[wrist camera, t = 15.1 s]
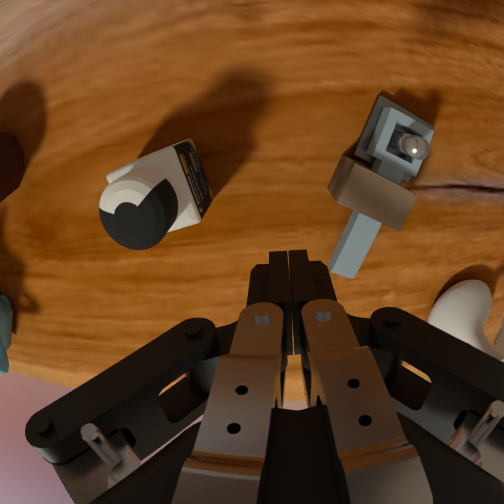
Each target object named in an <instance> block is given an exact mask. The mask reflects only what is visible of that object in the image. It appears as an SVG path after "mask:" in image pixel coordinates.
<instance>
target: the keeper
mask: <svg viewBox="0 0 504 504" xmlns="http://www.w3.org/2000/svg"><path fill="white" fill-rule="evenodd" d="M327 188H328V190H329V191H330V193H331V195H332V196H333V198H334V199H335V201H336V203H338V204H340V205H343V206H345V207H347V208H350V209H352V210H354V211H356V212H359V213H361V214H363V215H365V216H367V217H370V218H372V219H374V220H376V221H378V222H380V223H382V224H385V225H387V226H389V227H391V228H393V229H395V230H397V231H400V229H401V228H402V226H403V224H404V222H405V220H406V218H407V216H408V215H409V213H410V211H411V209H412V207H413V205H414V203H415V201H416V199H417V197H418V196H417V195H416V194H415V193H413V192H411V191H409V190H408V189H406V188H404V187H402V186H400V185H398V184H396V183H395V182H393V181H391V180H389V179H387V178H385V177H383V176H381V175H379V174H377V173H375V172H373V171H371V170H370V169H368V168H367V167H366V166H364V165H363V164H361V163H360V162H358V161H356V160H354V159H352V158H350V157H348V156H346V155H344V154H342V157H341V159H340V161H339V163H338V165H337V168H336V170H335V172H334V174H333V176H332V179H331V181H330V183H329V185H328V187H327Z"/></svg>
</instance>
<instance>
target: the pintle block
mask: <svg viewBox="0 0 504 504" xmlns="http://www.w3.org/2000/svg"><path fill="white" fill-rule="evenodd" d="M384 107H391V108H393V109H395V110H397V111H399V112H401V113H403V114H405V115H407V116H408V117H410V118H412V119H414V120H416V121H417V122H419V123H421V124H423V125H424V126H426V127H428V128H429V129H431V130H433V126H431V125H430V124H428V123H427V122H425V121H423V120H422V119H420V118H419V117H417V116H416V115H414V114H412V113H411V112H409V111H407V110H406V109H404V108H402V107H401V106H399V105H397V104H395V103H394V102H392V101H390V100H388V99H387V98H385V97H383V96H381V95H377V98H376V100H375V102H374V105H373V107H372V109H371V112H370V114H369V116H368V119H367V121H366V123H365V126H364V128H363V130H362V132H361V135H360V137H359V139H358V141H357V144H356V146H355V148H354V150H353V153H352V154H354V155H356V156H358V157H360V158H362V159H364V160H366V161H368V162H370V163H372V164H373V163H374V161H375V159H376V157H374V156H372V155H370V154H368V153H367V152H366V151H367V149H368V146H369V144H370V141H371V139H372V136H373V134H374V131H375V129H376V126H377V124H378V121H379V118H380V116H381V113H382V111H383V108H384ZM385 151H387V152H389V153H391V154H393V155H395V156H397V157H399V158H401V159H403V160H404V157H405V155H406V154H407V155H409V156H411V157H413V158H416V159H418V160H423V159H425V158H427V156H428V155H429V153H430V145H429V143H428V141H427V140H426V139H424V138H422V137H418V136H415V135H414V133H413V132H411V131H410V130H408V129H406V128H404V127H402V126H400V125H398V124H396V125H395V128H394V130H393V133H392V135H391V138H390V140H389V143H388V145H387V148H386V150H385ZM411 176H412V175H411V174H409V173H407V172H405V174H404V177H403V179H402V180H404V181H406V182H409V180H410V178H411Z"/></svg>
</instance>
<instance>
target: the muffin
mask: <svg viewBox="0 0 504 504" xmlns="http://www.w3.org/2000/svg"><path fill="white" fill-rule="evenodd" d="M23 174H24V164H23V151H22V149H21V148H20V146H19V144H18V142H17V140H16V137H14V136H10V135H8V134H6V133H5V132H0V202H1V201H2V200H4V199H5V198H6V197H7V196H8V195H10V194H11V193H12V192H13V191H15V190H16V189H17V188H18V187H19V184H20V181H21V178H22V176H23Z"/></svg>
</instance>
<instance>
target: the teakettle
mask: <svg viewBox="0 0 504 504" xmlns="http://www.w3.org/2000/svg"><path fill="white" fill-rule="evenodd" d="M12 320H13V309H12V308H11V303H10V301H9V299H8V298H7V297H6V296H5V295H3V294H2V295H0V374H6V373H7V372H8V369H9V361H8V356H7V353H6V350H7V349H8V348H9V346H10V345H11V335H12Z"/></svg>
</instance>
